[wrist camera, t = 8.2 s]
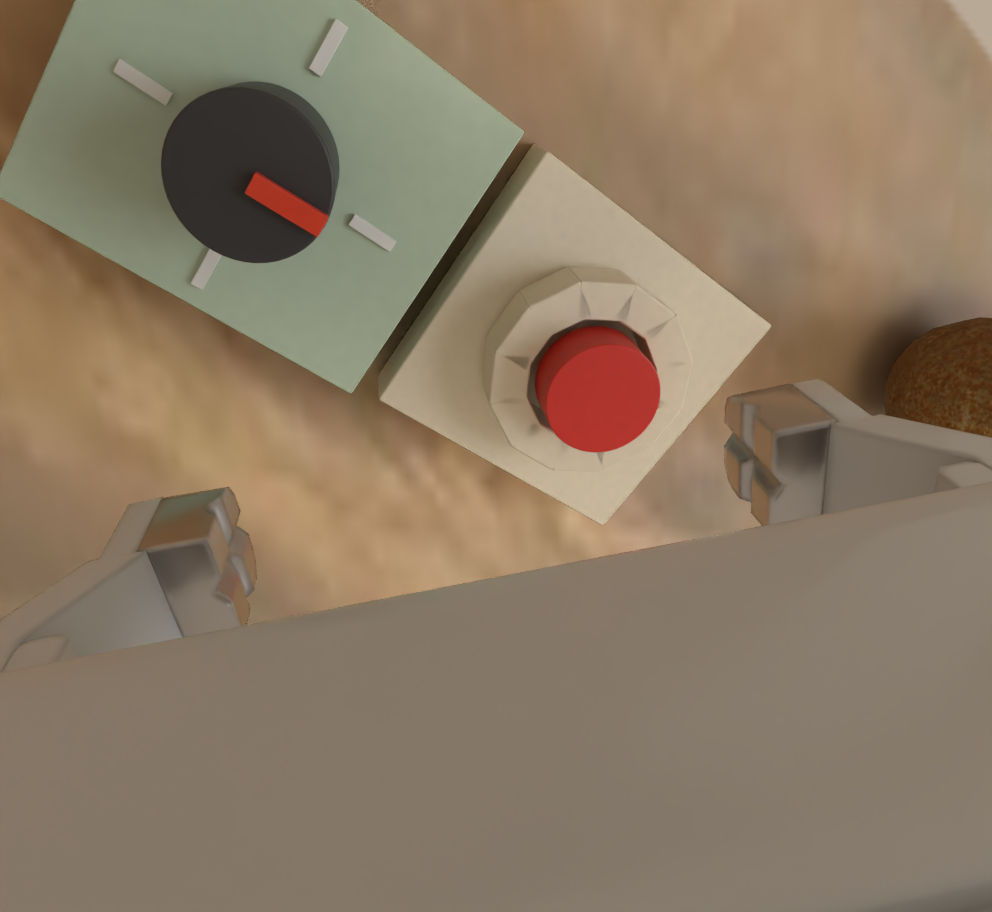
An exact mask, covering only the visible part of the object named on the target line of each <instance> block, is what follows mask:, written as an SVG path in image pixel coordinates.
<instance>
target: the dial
mask: <svg viewBox="0 0 992 912" xmlns="http://www.w3.org/2000/svg"><path fill="white" fill-rule="evenodd" d="M339 168H340V167H339V156H338V151H337V147H336V144H335V141H334V138H333V135H332V133H331V131H330V129H329V127H328V125H327V124H326V122H325V121H324V119H323V118H322V116H321V115H320V114H319V113H318V112H317V110H316V109H315V108H314V107H313V106H312V105H311V104H310V103H309V102H307V101H306V100H305V99H303V98H302V97H301V96H299V95H298V94H296V93H294V92H293V91H291V90H289V89H286V88H284V87H282V86H279V85H275V84H272V83H266V82H243V83H238V84H234V85H231V86H227V87H224V88H220V89H217V90H214V91H210V92H208V93H205V94H203V95H201V96H199V97H197V98H196V99H194V100H193V101H192V102H190V103H189V104H188V105H187V106H185V107H184V108H183V109H182V110H181V111H180V113H179V114H178V115H177V116H176V118H175V119H174V120H173V122H172V124H171V126H170V127H169V129H168V132H167V134H166V137H165V140H164V144H163V148H162V155H161V175H162V180H163V186H164V189H165V192H166V195H167V198H168V201H169V203H170V205H171V207H172V209H173V211H174V213H175V214H176V216H177V218H178V219H179V220H180V222H181V223H182V224H183V226H184V227H185V228H186V229H187V230H188V231H189V232H190V233H191V234H192V235H193V236H194V237H195V238H196V239H197V240H198V241H200V242H201V243H202V244H203V245H205V246H206V247H208V248H209V249H211V250H212V251H214V252H216V253H218V254H220V255H222V256H225V257H228V258H231V259H233V260H237V261H242V262H248V263H270V262H276V261H280V260H283V259H287V258H289V257H291V256H293V255H296V254H297V253H299V252H301V251H302V250H304V249H305V248H306V247H308V246H309V245H310V244H311V243H312V242H313V241H314V240H315V239H316V238H317V237H318V236H319V235H320V233H321V232H322V230H323V229H324V227H325V225H326V223H327V221H328V219H329V217H330V214H331V211H332V208H333V204H334V200H335V195H336V191H337V186H338V180H339Z"/></svg>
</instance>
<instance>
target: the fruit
mask: <svg viewBox="0 0 992 912" xmlns="http://www.w3.org/2000/svg"><path fill="white" fill-rule="evenodd" d="M885 409H886V414H887V416H891V417H896V418H901V419H905V420H910V421H915V422H920V423H924V424H929V425H934V426H939V427H943V428H948V429H953V430H958V431H962V432H967V433H972V434H977V435H981V436H986V437H991V438H992V318H975V319H970V320H965V321H961V322H957V323H953V324H949V325H945V326H941V327H938V328H934V329H932V330H930V331H929V332H927V333H926V334H924V335H923V336H921V337H919V338H918V339H916V340H915V341H913V342H912V343H911V344H910V345H909V346H908V347H907V349H906V350H905V351H904V352H903V353H902V354H901V356H900V357H899V358H898V359H897V360H896V361H895V363H894V366H893V368H892V370H891V372H890V375H889V377H888V379H887V382H886V389H885Z"/></svg>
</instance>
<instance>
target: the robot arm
mask: <svg viewBox="0 0 992 912" xmlns="http://www.w3.org/2000/svg"><path fill="white" fill-rule="evenodd" d="M725 423H726V424H727V425H728V427H729V428H730V429H731V430H732V431H733V434H732V435H731V437H730V438H729V439H728V441H727V442H726V444H725V445H724V464H725V469H726V473H727V477H728V481H729V483H730V485H731V487H732V489H733V491H734V492H735V493H736V494H737V496H738V497H739V498H740V499H743V500H746V501H749V502H751V513H752V514H753V516H754V517H755V518H756V519H757V520H758V522H759V523H760V524H761V525H762V526H760V527H755V528H750V529H744V530H739V531H734V532H729V533H724V534H718V535H713V536H708V537H703V538H698V539H692V540H687V541H682V542H677V543H672V544H666V545H661V546H656V547H651V548H646V549H640V550H635V551H630V552H625V553H620V554H614V555H609V556H604V557H599V558H593V559H588V560H583V561H578V562H573V563H567V564H562V565H557V566H552V567H547V568H541V569H536V570H531V571H526V572H521V573H515V574H510V575H505V576H500V577H495V578H489V579H484V580H479V581H474V582H468V583H463V584H458V585H453V586H448V587H442V588H437V589H432V590H427V591H422V592H416V593H411V594H406V595H401V596H396V597H390V598H385V599H380V600H375V601H369V602H364V603H359V604H354V605H349V606H343V607H338V608H333V609H328V610H323V611H317V612H312V613H307V614H302V615H297V616H291V617H286V618H281V619H276V620H270V621H265V622H260V623H255V624H250V625H247V621H248V617H249V612H250V606H249V603H248V600H247V596H249V595H250V594H251V593H252V592H253V591H254V589H255V584H256V579H257V575H256V559H255V555H254V550H253V546H252V543H251V540H250V537H249V534H248V533H246V532H245V531H244V530H242V529H241V528H239V527H238V526H237V522H238V518H239V515H240V508H239V505H238V503H237V500H236V497H235V495H234V493H233V492H232V490H231V489H230V488H229V487H225V488H219V489H212V490H206V491H200V492H194V493H188V494H182V495H176V496H170V497H165V498H164V497H159V498H155V499H150V500H146V501H141V502H136V503H132V504H129V505H128V507H127V509H126V510H125V512H124V514H123V516H122V518H121V520H120V521H119V523H118V525H117V527H116V529H115V531H114V532H113V534H112V536H111V538H110V540H109V542H108V543H107V545H106V547H105V549H104V551H103V553H102V555H101V556H100V558H99V559H96V560H91V561H88V562H87V563H85V564H84V565H82V566H81V567H79V568H78V569H76V570H74V571H73V572H71V573H70V574H68V575H67V576H65V577H64V578H62V579H61V580H59V581H58V582H56V583H55V584H53V585H52V586H50V587H49V588H47V589H46V590H44V591H43V592H41V593H40V594H38V595H37V596H35V597H34V598H32V599H31V600H29V601H28V602H26V603H25V604H23V605H22V606H20V607H19V608H17V609H16V610H14V611H12V612H11V613H9V614H8V615H6V616H5V617H3V618H2V619H0V912H992V438H991V437H986V436H981V435H977V434H972V433H967V432H962V431H958V430H953V429H948V428H943V427H939V426H934V425H929V424H924V423H920V422H915V421H910V420H905V419H901V418H896V417H891V416H887V415H882V414H880V415H874V416H871V415H870V414H868V413H867V412H866V411H864V410H863V409H862V408H860V407H859V406H857V405H856V404H855V403H853V402H852V401H851V400H849V399H848V398H847V397H845V396H844V395H842V394H841V393H840V392H838V391H837V390H836V389H834V388H833V387H831V386H830V385H829V384H827V383H826V382H825V381H823V380H822V379H811V380H807V381H803V382H798V383H794V384H786V385H781V386H776V387H771V388H766V389H761V390H757V391H752V392H747V393H742V394H737V395H733V396H731V397H729V398H727V402H726V406H725Z"/></svg>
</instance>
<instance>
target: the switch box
mask: <svg viewBox="0 0 992 912" xmlns="http://www.w3.org/2000/svg"><path fill="white" fill-rule="evenodd" d="M588 326H604V327H609V328H613V329H615V330H617V331H620V332H621V333H623V334H625V335H626V336H627V337H628V338H630V339H631V340H632V342H633V343H634V344H635V345H636V346H637V347H638V348H639V349H640V350H641V352H642V353H643V354H644V355H645V356H646V357H647V358H648V359H649V361H650V362H651V363H652V365H653V366H654V368H655V370H656V372H657V374H658V377H659V381H660V401H659V405H658V409H657V411H656V414H655V416H654V418H653V420H652V421H651V423H650V424H649V426H648V427H647V428H646V429H645V430H644V432H643V433H642V434H641V435H639V436H638V437H637V438H636V439H634V440H633V441H632V442H630V443H628V444H626V445H625V446H623V447H620V448H618V449H615V450H611V451H606V452H595V453H594V452H585V451H581V450H578V449H575V448H572V447H571V446H569V445H567V444H565V443H564V442H563V441H561V440H560V439H559V438H558V437H557V436H556V434H555V433H554V432H553V430H552V429H551V427H550V425H549V423H548V421H547V419H546V417H545V414H544V412H543V410H542V408H541V406H540V404H539V401H538V399H537V395H536V391H535V377H536V372H537V369H538V366H539V363H540V361H541V359H542V357H543V355H544V354H545V352H546V351H547V350H548V349H549V347H550V346H551V345H552V344H553V343H554V342H555V341H556V340H558V339H559V338H560V337H562V336H563V335H565V334H567V333H569V332H571V331H573V330H576V329H579V328H582V327H588ZM770 328H771V325H770V324H769V323H768V322H767V321H765V320H764V319H763V318H762V317H760V316H759V315H758V314H756V313H755V312H754V311H753V310H751V309H750V308H749V307H748V306H746V305H745V304H744V303H742V302H741V301H740V300H739V299H737V298H736V297H735V296H733V295H732V294H731V293H730V292H728V291H727V290H726V289H724V288H723V287H722V286H721V285H719V284H718V283H717V282H715V281H714V280H713V279H712V278H710V277H709V276H708V275H706V274H705V273H704V272H703V271H701V270H700V269H699V268H697V267H696V266H695V265H694V264H692V263H691V262H690V261H688V260H687V259H686V258H685V257H683V256H682V255H681V254H680V253H678V252H677V251H676V250H674V249H673V248H672V247H671V246H669V245H668V244H667V243H665V242H664V241H663V240H662V239H660V238H659V237H658V236H656V235H655V234H654V233H653V232H651V231H650V230H649V229H647V228H646V227H645V226H644V225H642V224H641V223H640V222H638V221H637V220H636V219H635V218H633V217H632V216H631V215H629V214H628V213H627V212H626V211H624V210H623V209H622V208H620V207H619V206H618V205H617V204H615V203H614V202H613V201H611V200H610V199H609V198H608V197H606V196H605V195H604V194H603V193H601V192H600V191H599V190H597V189H596V188H595V187H594V186H592V185H591V184H590V183H588V182H587V181H586V180H585V179H583V178H582V177H581V176H579V175H578V174H577V173H576V172H574V171H573V170H572V169H570V168H569V167H568V166H567V165H565V164H564V163H563V162H561V161H560V160H559V159H558V158H556V157H555V156H554V155H552V154H551V153H550V152H549V151H547V150H545V149H543V148H542V147H540V146H538V145H537V144H533V145H532V146H531V148H530V149H529V151H528V152H527V154H526V155H525V157H524V158H523V160H522V161H521V163H520V164H519V166H518V167H517V169H516V170H515V172H514V173H513V174H512V176H511V177H510V179H509V180H508V182H507V183H506V185H505V186H504V188H503V189H502V191H501V192H500V194H499V195H498V197H497V198H496V200H495V201H494V203H493V204H492V206H491V207H490V209H489V210H488V212H487V213H486V215H485V216H484V218H483V219H482V221H481V222H480V224H479V225H478V227H477V228H476V230H475V231H474V233H473V234H472V236H471V237H470V239H469V240H468V242H467V243H466V245H465V246H464V248H463V249H462V251H461V252H460V254H459V255H458V257H457V258H456V260H455V261H454V263H453V264H452V266H451V267H450V269H449V270H448V272H447V273H446V275H445V276H444V278H443V279H442V281H441V282H440V284H439V285H438V287H437V288H436V290H435V291H434V293H433V294H432V296H431V297H430V299H429V300H428V301H427V303H426V304H425V306H424V307H423V309H422V310H421V312H420V313H419V315H418V316H417V318H416V319H415V321H414V322H413V324H412V325H411V327H410V328H409V330H408V331H407V333H406V334H405V336H404V337H403V339H402V340H401V342H400V343H399V345H398V346H397V348H396V349H395V351H394V352H393V354H392V355H391V357H390V358H389V360H388V361H387V363H386V364H385V366H384V367H383V369H382V370H381V372H380V373H379V375H378V384H379V400H380V401H382V402H384V403H386V404H387V405H389V406H391V407H393V408H394V409H396V410H398V411H400V412H402V413H403V414H405V415H407V416H409V417H410V418H412V419H414V420H416V421H418V422H419V423H421V424H423V425H425V426H426V427H428V428H430V429H432V430H433V431H435V432H437V433H439V434H441V435H442V436H444V437H446V438H448V439H449V440H451V441H453V442H455V443H457V444H458V445H460V446H462V447H464V448H465V449H467V450H469V451H471V452H473V453H474V454H476V455H478V456H480V457H481V458H483V459H485V460H487V461H489V462H490V463H492V464H494V465H496V466H497V467H499V468H501V469H503V470H504V471H506V472H508V473H510V474H512V475H513V476H515V477H517V478H519V479H520V480H522V481H524V482H526V483H528V484H529V485H531V486H533V487H535V488H536V489H538V490H540V491H542V492H544V493H545V494H547V495H549V496H551V497H552V498H554V499H556V500H558V501H559V502H561V503H563V504H565V505H567V506H568V507H570V508H572V509H574V510H575V511H577V512H579V513H581V514H583V515H584V516H586V517H588V518H590V519H591V520H593V521H595V522H597V523H599V524H600V525H604V524H605V522H606V521H607V520H608V519H609V518H610V517H611V515H612V514H613V513H614V512H615V511H616V509H617V508H618V507H619V506H620V505H621V504H622V502H623V501H624V500H625V499H626V498H627V496H628V495H629V494H630V493H631V492H632V491H633V489H634V488H635V487H636V486H637V485H638V484H639V482H640V481H641V480H642V479H643V478H644V476H645V475H646V474H647V473H648V472H649V471H650V469H651V468H652V467H653V466H654V465H655V463H656V462H657V461H658V460H659V459H660V458H661V456H662V455H663V454H664V453H665V452H666V450H667V449H668V448H669V447H670V446H671V445H672V443H673V442H674V441H675V440H676V439H677V438H678V436H679V435H680V434H681V433H682V432H683V430H684V429H685V428H686V427H687V426H688V425H689V423H690V422H691V421H692V420H693V419H694V417H695V416H696V415H697V414H698V413H699V412H700V410H701V409H702V408H703V407H704V406H705V404H706V403H707V402H708V401H709V400H710V399H711V397H712V396H713V395H714V394H715V393H716V391H717V390H718V389H719V388H720V387H721V386H722V384H723V383H724V382H725V381H726V380H727V379H728V377H729V376H730V375H731V374H732V373H733V371H734V370H735V369H736V368H737V367H738V366H739V364H740V363H741V362H742V361H743V360H744V358H745V357H746V356H747V355H748V354H749V353H750V351H751V350H752V349H753V348H754V347H755V345H756V344H757V343H758V342H759V341H760V340H761V338H762V337H763V336H764V335H765V334H766V332H767V331H768V330H769V329H770Z"/></svg>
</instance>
